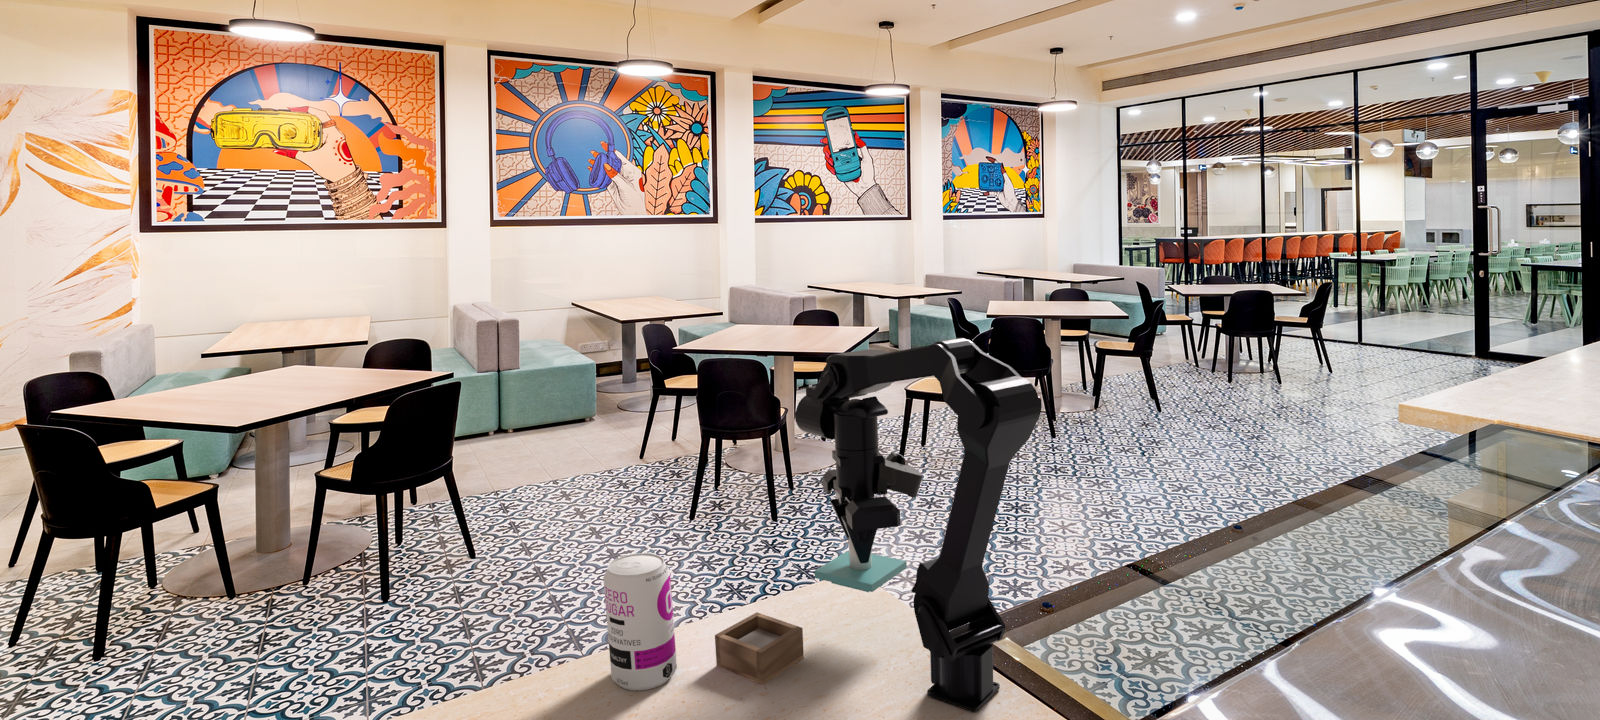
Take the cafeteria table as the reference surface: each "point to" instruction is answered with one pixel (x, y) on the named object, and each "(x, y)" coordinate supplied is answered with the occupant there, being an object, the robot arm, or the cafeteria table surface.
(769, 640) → the box
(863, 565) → the lid
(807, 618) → the cafeteria table surface
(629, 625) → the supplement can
